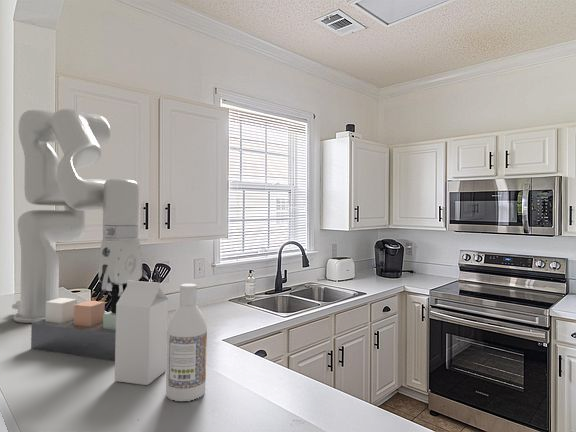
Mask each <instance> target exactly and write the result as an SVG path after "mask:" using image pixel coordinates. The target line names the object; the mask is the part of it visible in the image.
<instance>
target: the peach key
mask: <svg viewBox="0 0 576 432" xmlns="http://www.w3.org/2000/svg"><path fill="white" fill-rule="evenodd" d="M105 304H106V303H105V301H96V300H86V301H85V300H84V301H82V302H80V303H79V302H78V303H77V304H75V305H74V325H79V326H87V327H92V326H94V325H97V324H100V323H102V322H103V314H105V313H106V312H105V309H106V306H105Z"/></svg>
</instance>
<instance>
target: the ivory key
mask: <svg viewBox="0 0 576 432" xmlns="http://www.w3.org/2000/svg"><path fill="white" fill-rule="evenodd" d="M75 304H78V299H77V298H70V297H69V298H67V297H58V299H55V300H51V301H47V302H46V322H54V323H64V322H67V321H70V320H73V319H74V305H75Z"/></svg>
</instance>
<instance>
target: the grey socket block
mask: <svg viewBox="0 0 576 432" xmlns="http://www.w3.org/2000/svg"><path fill="white" fill-rule="evenodd" d="M30 329H31V330H30V334H31V336H30V340H31V341H30V349H31V350H36V351H42V352H50V353H56V354H57V353H58V354H64V355H71V356H77V357H78V356H79V357H84V358H92V359H97V360H98V359H99V360H105V361H113V362H115V340H116V330H112V329H104V328H103V322H102V323H100V324H97V325H94V326H92V327H87V326H79V325H74V319H73V320H70V321H67V322H64V323H54V322H46V319H44V320H40V321H37V322H34V323H31V327H30Z"/></svg>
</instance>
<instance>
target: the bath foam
mask: <svg viewBox="0 0 576 432" xmlns="http://www.w3.org/2000/svg"><path fill="white" fill-rule="evenodd" d="M197 287H198V286H197V284H196V283H182V284H180V286H179V305H178V307H177V308H176V310H175V311H174V313H173V314H172V316H171V318H170V320H169V323H168V325H167V360H166V371H165V372H166V374H165V375H166V380H165V381H166V383H165V384H166V386H165V387H166V388H165V394H166V397H167V398H168V399H170V400H171V401H173V400H175V401H174V402H177V401H188V402H191V401H190V400H193V401H195V400H194V399H196V398H198V399H200V398H201V397H203V396H204V394H205V393H206V380H207V379H206V378H207V375H206V373H207V345H208V344H207V343H208V341H207V338H208V329H207V322H206V318H205V317H204V314H203V312H202V311H201V310H200V308H199V306H198V304H197V290H198V289H197ZM199 397H200V398H199ZM196 400H197V399H196Z"/></svg>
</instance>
